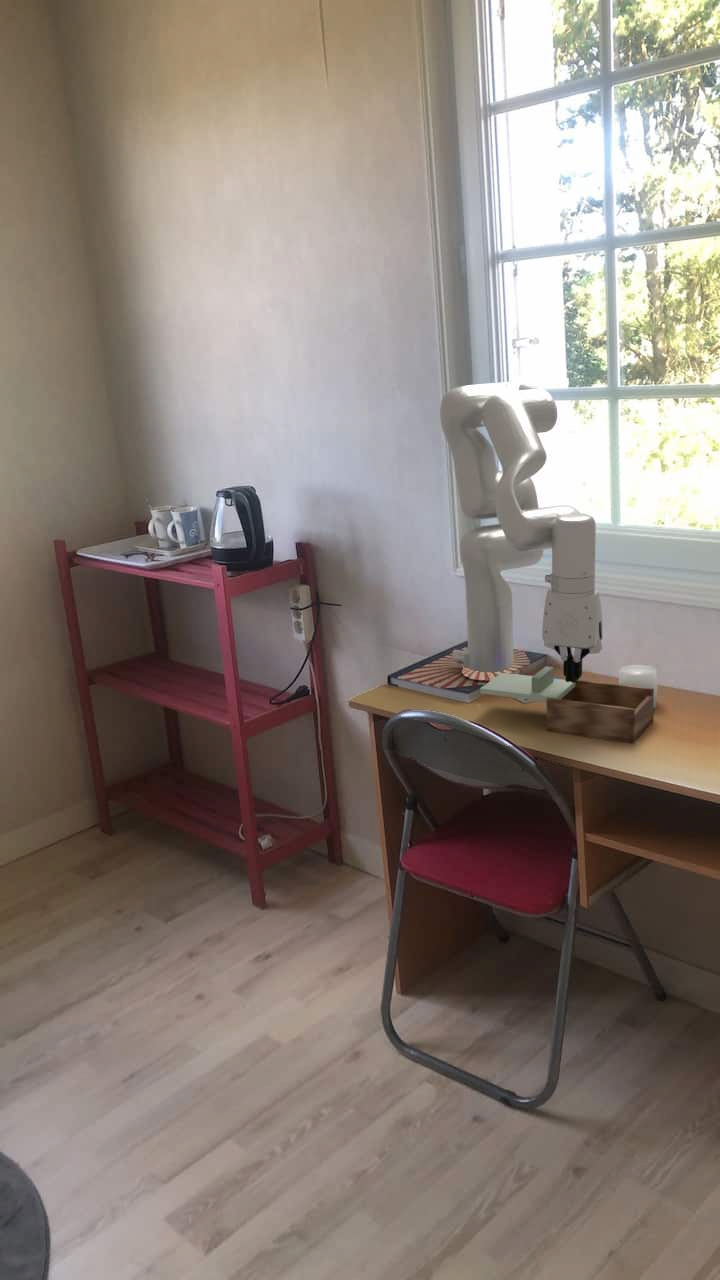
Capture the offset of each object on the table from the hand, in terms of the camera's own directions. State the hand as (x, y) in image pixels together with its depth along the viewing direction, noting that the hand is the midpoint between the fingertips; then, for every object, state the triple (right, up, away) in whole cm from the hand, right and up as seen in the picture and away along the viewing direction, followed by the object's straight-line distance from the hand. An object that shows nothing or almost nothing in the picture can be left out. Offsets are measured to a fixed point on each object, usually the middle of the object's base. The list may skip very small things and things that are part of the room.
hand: (572, 679), depth 200 cm
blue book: (-3, -4, +19) cm, 20 cm away
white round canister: (+14, -5, +8) cm, 17 cm away
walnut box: (+5, -8, -1) cm, 10 cm away
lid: (-7, -2, +5) cm, 9 cm away
